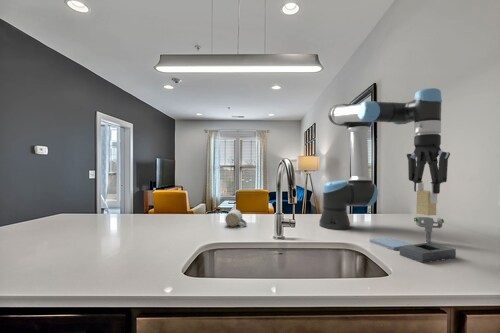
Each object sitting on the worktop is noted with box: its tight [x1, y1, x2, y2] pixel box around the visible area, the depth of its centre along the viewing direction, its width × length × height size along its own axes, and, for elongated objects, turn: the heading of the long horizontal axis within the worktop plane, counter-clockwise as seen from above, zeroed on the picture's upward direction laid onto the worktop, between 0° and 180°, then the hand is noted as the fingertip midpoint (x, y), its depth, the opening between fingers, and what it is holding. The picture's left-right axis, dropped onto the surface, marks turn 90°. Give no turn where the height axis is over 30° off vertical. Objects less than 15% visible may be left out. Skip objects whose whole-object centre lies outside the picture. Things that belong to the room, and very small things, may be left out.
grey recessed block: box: [399, 241, 457, 264], centre depth 86 cm, size 8×16×3 cm, turn 110°
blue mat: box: [369, 236, 414, 251], centre depth 99 cm, size 11×11×1 cm
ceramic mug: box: [224, 208, 248, 228], centre depth 127 cm, size 11×8×8 cm
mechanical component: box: [413, 216, 445, 243], centre depth 103 cm, size 3×10×10 cm, turn 78°
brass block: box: [416, 190, 437, 217], centre depth 86 cm, size 4×4×8 cm
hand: (426, 202), depth 86 cm, fingers closed on brass block, 4 cm apart
